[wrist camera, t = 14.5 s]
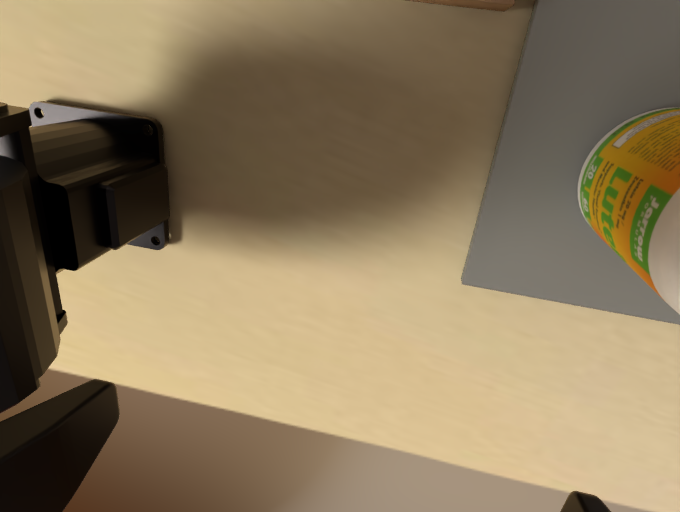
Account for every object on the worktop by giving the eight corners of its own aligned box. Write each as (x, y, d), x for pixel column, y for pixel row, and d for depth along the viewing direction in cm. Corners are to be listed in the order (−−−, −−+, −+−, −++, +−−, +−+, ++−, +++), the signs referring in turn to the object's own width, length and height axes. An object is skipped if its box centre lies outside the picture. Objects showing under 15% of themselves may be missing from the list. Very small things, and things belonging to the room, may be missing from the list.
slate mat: (461, 278, 20) (462, 284, 20) (540, -18, 15) (544, -21, 15) (735, 328, 19) (744, 336, 19) (921, 22, 14) (940, 21, 14)
